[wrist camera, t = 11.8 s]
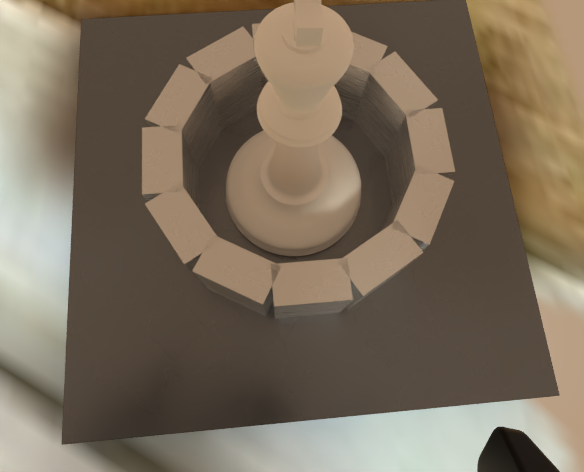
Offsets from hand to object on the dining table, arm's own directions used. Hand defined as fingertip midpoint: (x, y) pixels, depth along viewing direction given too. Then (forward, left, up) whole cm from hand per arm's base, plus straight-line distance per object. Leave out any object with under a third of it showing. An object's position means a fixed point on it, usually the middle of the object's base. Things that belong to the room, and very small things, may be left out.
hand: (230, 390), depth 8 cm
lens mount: (+7, -2, -8) cm, 11 cm away
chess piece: (+6, -2, -8) cm, 10 cm away
